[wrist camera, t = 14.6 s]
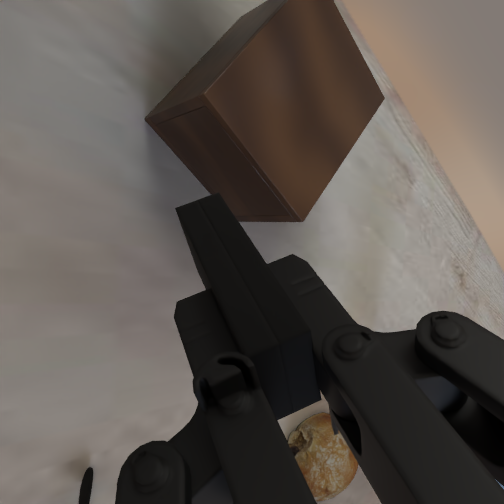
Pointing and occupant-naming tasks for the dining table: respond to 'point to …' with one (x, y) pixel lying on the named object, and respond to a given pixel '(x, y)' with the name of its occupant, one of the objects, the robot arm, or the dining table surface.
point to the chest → (218, 130)
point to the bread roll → (322, 457)
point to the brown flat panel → (296, 100)
